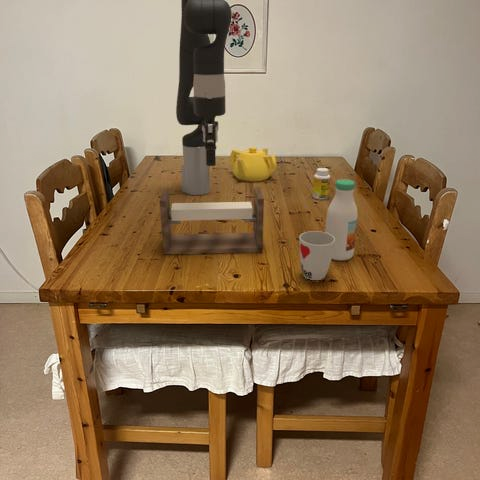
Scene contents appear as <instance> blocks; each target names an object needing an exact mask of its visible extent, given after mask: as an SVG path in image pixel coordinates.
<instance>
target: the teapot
mask: <svg viewBox="0 0 480 480" xmlns="http://www.w3.org/2000/svg"><path fill="white" fill-rule="evenodd" d="M268 153H269V148H262V150H260V149H259V150H258V147H256V146H251V147H248V149H247V150H246V149H245V150H243V151H240V150H238V149H235V148H234V149H231V152H230V156H229V157H228V158H229V159H228V163H229V165H231V167H233V169H232V171H233V172H232V173H233V175H234V176H235V177H236V179H238V180H240V181H243V182H248V181H249V183H250V182H251V183H253V182H255V183H256V182H263V180H264V181H265V180H268V179H269V178H270V177H271V175H272V174H273V173H274V172H275V171H276V170H277V169H278V164H277V160H276V156H275V155H268Z"/></svg>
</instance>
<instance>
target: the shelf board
mask: <svg viewBox="0 0 480 480" xmlns="http://www.w3.org/2000/svg"><path fill="white" fill-rule="evenodd" d="M253 212H254V207H253V205H252V201H228V202H227V201H224V202H223V201H220V202H176V203H175V202H172V203H171V206H170V215H171V219H172V221H180V222H181V221H182V222H183V221H220V220H221V221H222V220H223V221H224V220H230V221H231V220H245V219H252V213H253Z"/></svg>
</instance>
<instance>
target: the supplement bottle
mask: <svg viewBox="0 0 480 480" xmlns="http://www.w3.org/2000/svg"><path fill="white" fill-rule="evenodd" d="M330 185H331V175H330V174H329V168H325V167H317V169H316V173H315V174H314V175H313V187H312V198H314V199H316V200H319V201H320V200H322V201H323V200H327V199H328V198H329V196H330V195H329V194H330Z"/></svg>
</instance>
